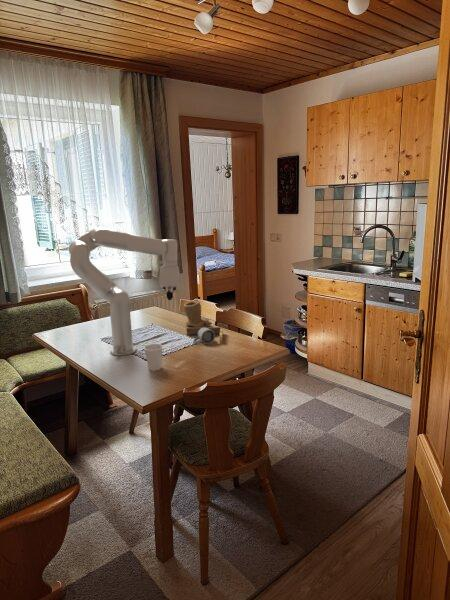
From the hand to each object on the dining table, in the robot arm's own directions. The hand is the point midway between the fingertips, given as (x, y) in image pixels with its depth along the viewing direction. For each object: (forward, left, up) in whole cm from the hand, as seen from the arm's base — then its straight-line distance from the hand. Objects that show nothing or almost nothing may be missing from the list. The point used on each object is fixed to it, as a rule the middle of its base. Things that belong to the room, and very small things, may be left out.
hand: (169, 299), depth 211 cm
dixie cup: (-34, +3, -24) cm, 42 cm away
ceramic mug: (0, -17, -24) cm, 29 cm away
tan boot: (+29, -10, -24) cm, 39 cm away
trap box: (+5, -16, -23) cm, 29 cm away
